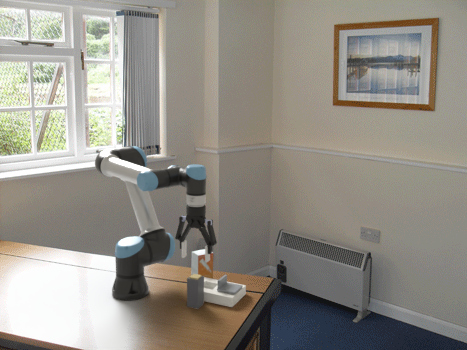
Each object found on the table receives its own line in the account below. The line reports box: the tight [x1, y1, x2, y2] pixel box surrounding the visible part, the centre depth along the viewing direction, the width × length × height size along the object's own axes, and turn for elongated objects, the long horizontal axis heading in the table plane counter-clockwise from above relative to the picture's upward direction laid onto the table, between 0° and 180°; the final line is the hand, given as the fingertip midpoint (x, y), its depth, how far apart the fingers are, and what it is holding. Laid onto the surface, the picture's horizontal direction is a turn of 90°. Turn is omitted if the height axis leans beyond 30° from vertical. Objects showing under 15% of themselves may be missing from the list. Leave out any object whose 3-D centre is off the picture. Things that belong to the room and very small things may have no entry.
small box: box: [190, 248, 214, 279], centre depth 239 cm, size 8×6×13 cm
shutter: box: [217, 274, 244, 294], centre depth 220 cm, size 8×8×4 cm
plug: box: [186, 274, 205, 310], centre depth 213 cm, size 5×5×13 cm
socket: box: [204, 277, 247, 308], centre depth 223 cm, size 20×14×4 cm
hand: (195, 259), depth 210 cm, fingers open, 10 cm apart
